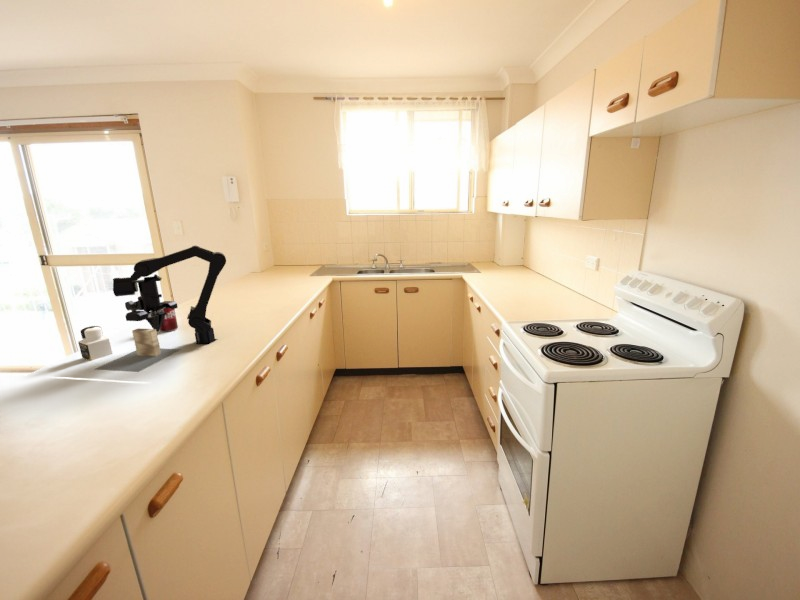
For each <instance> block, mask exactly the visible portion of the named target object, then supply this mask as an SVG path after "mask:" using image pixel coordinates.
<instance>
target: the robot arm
mask: <svg viewBox="0 0 800 600" xmlns="http://www.w3.org/2000/svg"><path fill="white" fill-rule="evenodd" d="M194 257H196V258H199V259H201V260H204V261H206V262H208V263H209V265H208V272H207V275H206V278H205V281H204V284H203V287H202V289H201V292H200V295H199V298H198V300H197V303H196V305H195V306H190V309H189V313H188V314H187V317H186V319H187V320H188V321H187V322H188V324H187V325H189V327H191V328H193V329H194V339H195V343H194V345H204V346H206V345H207V346H208V345H210V344H212V343H214V342H216V341H218V339H217V338H215V337H216V336H215V331H214V327H212V320H211V319H209V318H207V317H206V315H207V308H208V305H209V301H210V299H211V296H212V293H213V292H214V291H213V290H214V288H215V285H216V282H217V279H218V276H219V275H220V274H221V271H223V269H224V267H225V265H226V264H227V258H226V255H225V254H224V253H223V252H220V251H214V252H213V251H212V250H208V249H206V248H203V247H200V246H198V245H192V246H191V247H188V248H184V249H182V250H178V251H175V252H173V253H170V254H166V255H164V256H161V257H154V258H147V259H141V260H140V261H138V262H136V263H135V264H134V266H133V273H132V274H131V275H130V277H114V278H112V287H113V288H112V291H113V294H114V296H115V297H123V296H124V297H125V296H133V295H136V292H139V293H140V296H137V301H133V300H130V301H126V302H125V303H124V305H125V309H126V310H127V311H128V312H127V313H126V314H125V319H126V322H141V321H144V320H146V321H147V322H148V323H149V325H150V326H151V329H156V331H157V333H158V332H159V331H160V327H161V324H162V322H163V319H164V317H165V315H166V314H167V312H164V310H163V309H166V308H170V309H178V307H179V306H178V302H176V301H175V300H171V301H170V300H165V301H162V302H161V300H160V298H162V297H163V296H162V295H163V294H162V293H160V294H159V289H158V284H157V282H160V281H161V280H162V277H160V276H159V275H158V274H154V273H156V272H158V271H160V270H162V269H163V268H165V267H168V266H171V265H174V264H176V263H181V262H182V261H185V260H188V259H191V258H194ZM152 274H154V275H153V276H151V275H152ZM142 277H143V279H140V278H142ZM139 279H140V280H139Z"/></svg>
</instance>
